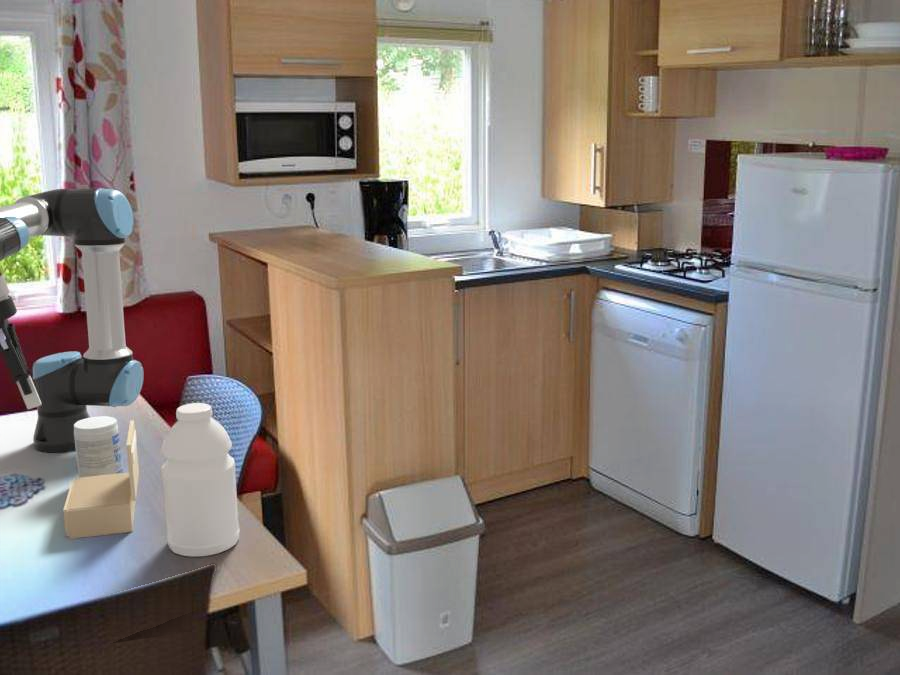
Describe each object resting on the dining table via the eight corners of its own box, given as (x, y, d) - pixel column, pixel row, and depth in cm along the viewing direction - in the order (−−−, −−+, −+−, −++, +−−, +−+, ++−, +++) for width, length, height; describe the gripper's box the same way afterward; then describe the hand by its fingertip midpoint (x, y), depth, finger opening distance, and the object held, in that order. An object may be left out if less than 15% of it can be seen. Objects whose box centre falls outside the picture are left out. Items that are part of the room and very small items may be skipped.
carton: (75, 503, 206) (72, 477, 204) (136, 497, 209) (133, 471, 208) (65, 539, 189) (62, 511, 188) (132, 531, 192) (129, 503, 191)
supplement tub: (128, 485, 216) (122, 424, 212) (85, 494, 211) (78, 432, 207) (117, 471, 224) (111, 412, 220) (75, 480, 219) (68, 420, 215)
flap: (135, 472, 207) (130, 420, 204) (140, 471, 207) (135, 419, 204) (131, 501, 192) (126, 445, 189) (136, 500, 192) (131, 444, 189)
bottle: (175, 564, 178) (163, 423, 172) (161, 535, 190) (149, 403, 184) (248, 548, 185) (239, 411, 178) (230, 521, 197) (221, 392, 190)
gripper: (-27, 298, 191) (17, 402, 200) (-33, 314, 180) (14, 423, 188) (11, 287, 193) (53, 390, 202) (8, 302, 182) (52, 410, 190)
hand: (34, 406), depth 195 cm, fingers closed
